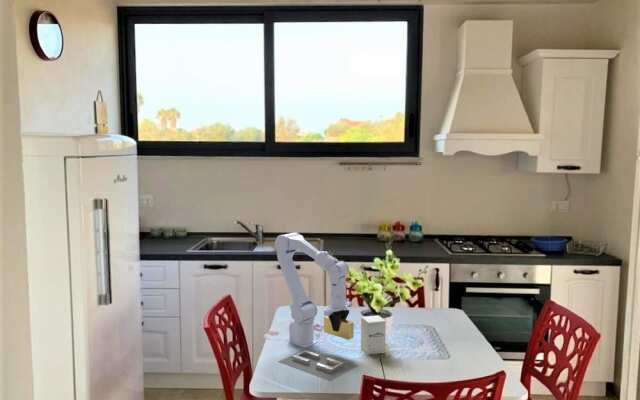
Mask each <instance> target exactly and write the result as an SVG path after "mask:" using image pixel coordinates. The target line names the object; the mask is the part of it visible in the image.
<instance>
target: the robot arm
mask: <svg viewBox="0 0 640 400" xmlns="http://www.w3.org/2000/svg"><path fill="white" fill-rule="evenodd" d="M274 241H275V242H274V244H273V245H274V248H275V250H276V256H277V261H278V263H279V266H280V269H281V272H282V275H283V277H284V280H285V282H286V285H287V287H288V291H289V294H290V297H291V300H292V301H291V304H289V305H290V306H289V308H290V311H291V312H290V315H291V318H292V320H291V321H290V323H289V325H288V327H289V328H288V329H289V330H288V331H289V334H288V335H289V340H287V343H290V344H293V345H294V346H295V345H296V346H299V347H302V348H305V349H307V348H308V347H310V346H312V345H315V344H317V343H319V341H318V340H316V339H315V338H314V335H315V333H314V324H315V323H314V321H315V317H316V316H317V315H318V307H317V305H316V304H315V303H314V302H313V299H312V297H310V296H309V295H307V294H306V291H305V288H304V286H303V283H302V281H301V279H300V276H299V274H298V273H299V272H298V271H297V268H296V267H297V266H296V265H295V262H294V260H293V259H294V258H293V256H294V254H295V253H296V251H297V250H299V251H301V252H303V253H304V254H306V255H308V256H309V257H311V258H312V259H313V260H314V264H315V265H317V266H319V268H321V269H323V270H324V271H325V272H326V273H327V276H328V277H329V282H330V305H329V306H328V307H327V308H325V309H324V310H323V316H324V317H325V316H328V317H329V319H330V322H331V325H332V329H333V331H336V332H338V330H339V322H340V319H344V320H347V318H348V316H349V314H350V309H349V308H352V307H353V303H352V301H349V300H347V276H348V275H349V273H350V267H349V265H348V264H347V262H345V260H338V259H337V258H335V257H333V256H332V255H330V253H329V252H328V251H326V250H325V251H324V250H322V251H320V250H318V249H317V248H316V247H314V245H312V244H311V243H310V242H308V241H307V240H306V239H305V238H304V236H303V235H301V234H300V233H299V232H297V231H294V232H291V233H286V234H279V235H277V237H276V238H275V240H274Z"/></svg>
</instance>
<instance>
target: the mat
mask: <svg viewBox="0 0 640 400" xmlns="http://www.w3.org/2000/svg"><path fill="white" fill-rule="evenodd" d="M305 350H307V351H310V352H313V353H316V354H319V355H320V359H319V360H316V359H313V358H310V357H307V356H304V357H303V358H306V359H309V360H310V364H308V365H305V364H302V363H300V362H297V361H294V360H293V356H294V355H296V354H298V353H300V352H302V351H305ZM327 358H331V359H334V360H337V361H340V362H343V363H344V367H343V368H341V369H340V370H338V371H336V372H334V373H332V374H330V373H328V372H325V371H322V370H319V369H316V364H317V363H321V364H324V365H326V366H329V367H334V366H333V365H330V364H327V363H326V359H327ZM277 363H280V364H283V365H286V366H289V367H292V368H294V369H296V370H299V371H303V372H305V373H308V374H310V375H312V376H316V377H318V378H321V379H324V380H325V381H329V382H331V381H333V380H335V379H337V378H339V377H341V376H342V375H344V374H345V373H348V372H349V371H351V370H353V369H354V368H357V367H359V364H356V363H353V362H350V361H346V360H344V359H341V358H338V357H334V356H333V355H332V356H331V355H329V354H326V353H322V352H320V351H316V350H313V349H311V348H308V347H306V348H305V349H303V350H301V351H298V352H296V353H294V354H292V355H290V356H287V357H285V358H282V359H281V360H279V361H278V362H277Z"/></svg>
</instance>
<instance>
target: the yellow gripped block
mask: <svg viewBox="0 0 640 400" xmlns="http://www.w3.org/2000/svg"><path fill="white" fill-rule="evenodd" d="M354 324H355V323H354V321H350V320H348V319H346V320H344V319H340V322H339V330H338V332H336V331H333V329H332V325H331V322H330V319H329V317H328V316H325V315H324V317H323V333H326V334H328V335H332V336H336V337H338V338H341V339H344V340H345V339H346V340H349V341H350V340H351V339H354V335H355V334H354V331H355V330H354V329H355V328H354Z"/></svg>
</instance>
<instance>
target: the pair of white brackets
mask: <svg viewBox="0 0 640 400" xmlns="http://www.w3.org/2000/svg"><path fill="white" fill-rule="evenodd" d="M304 350H305V349H304ZM301 351H302V352H300V351H299V352H300V353H298V352H297V353H298V354H296V353H295V354H296V355H294V354H293V355H294V356H293V360H294V361H297V362H300V363H302V364H305V365H308V364H310V360H309V359H306V358H303V357H304V356H307V357H310V358H313V359H316V360H319V359H320V355H319V354H316V353H313V352H310V351H307V350H305V351H303V350H301ZM326 363H327V364H330V365H333V366H334V367H329V366H326V365H324V364H321V363H317V364H316V369H319V370H322V371H325V372H328V373H330V374H332V373H334V372H336V371H338V370H340V369H341V368H343V367H344V363H343V362H340V361H337V360H334V359H331V358H327V359H326Z"/></svg>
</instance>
